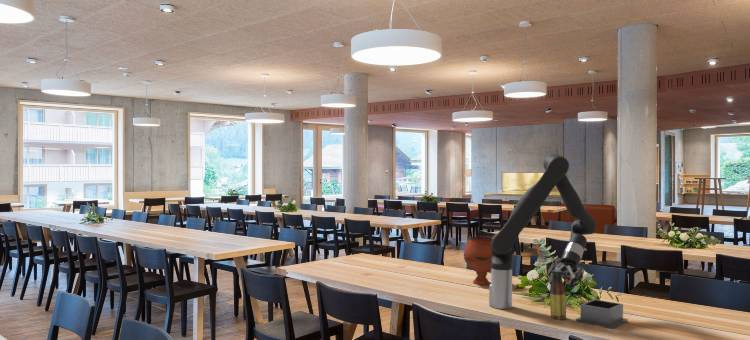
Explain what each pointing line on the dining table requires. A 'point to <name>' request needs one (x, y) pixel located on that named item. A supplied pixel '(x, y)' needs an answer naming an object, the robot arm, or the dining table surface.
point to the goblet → (479, 257)
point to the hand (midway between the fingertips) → (560, 285)
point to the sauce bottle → (557, 296)
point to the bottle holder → (602, 314)
